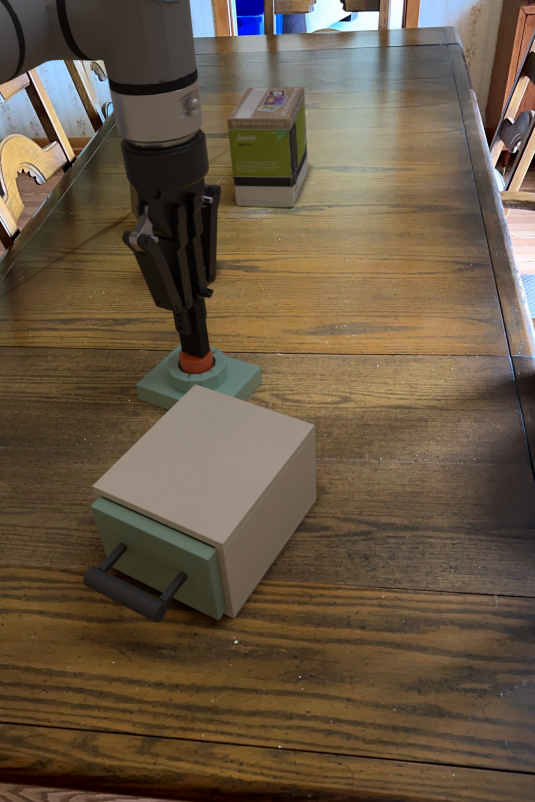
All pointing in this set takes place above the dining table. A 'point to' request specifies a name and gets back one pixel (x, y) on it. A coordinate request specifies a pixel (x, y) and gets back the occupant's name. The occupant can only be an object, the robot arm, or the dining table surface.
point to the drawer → (154, 564)
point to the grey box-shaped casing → (222, 481)
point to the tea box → (268, 146)
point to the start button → (195, 363)
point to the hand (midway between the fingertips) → (196, 351)
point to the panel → (198, 379)
